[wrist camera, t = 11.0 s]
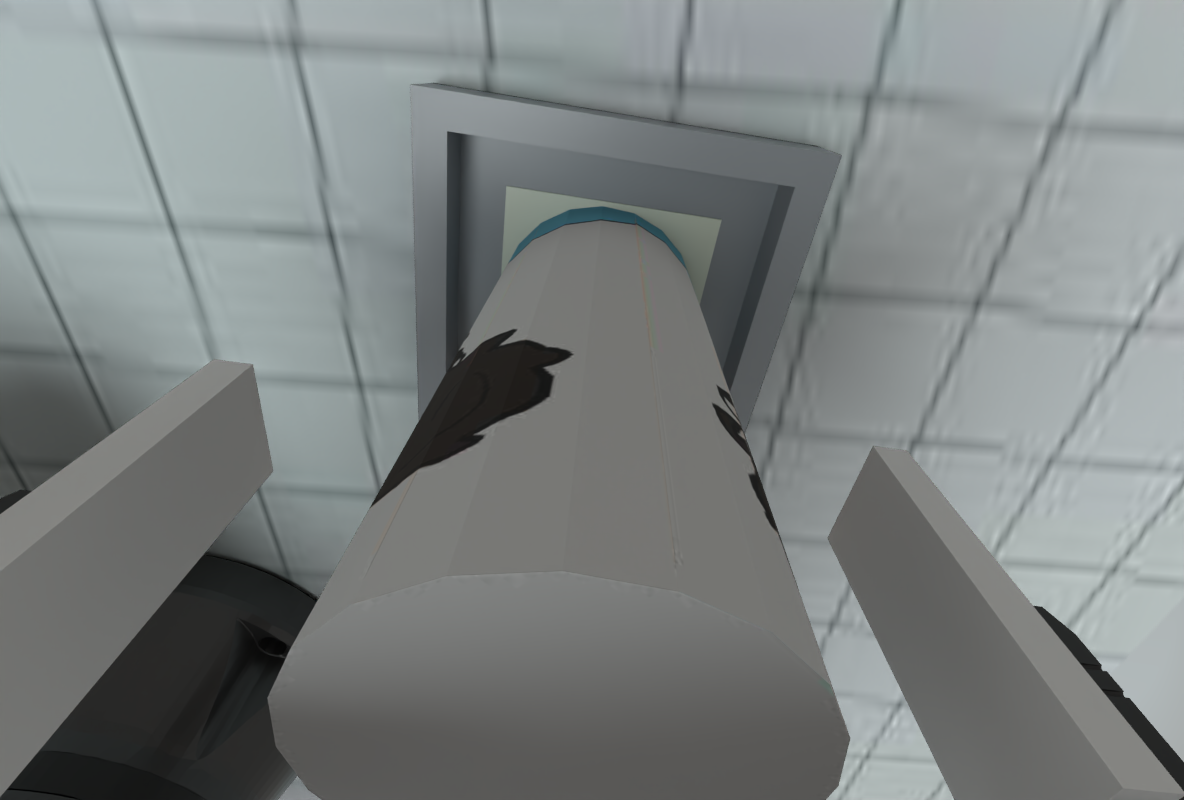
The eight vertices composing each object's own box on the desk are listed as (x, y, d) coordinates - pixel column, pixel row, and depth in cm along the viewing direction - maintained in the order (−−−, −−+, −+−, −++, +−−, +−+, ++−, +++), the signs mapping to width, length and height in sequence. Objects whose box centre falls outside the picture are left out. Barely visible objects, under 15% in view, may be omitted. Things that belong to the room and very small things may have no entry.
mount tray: (435, 412, 23) (419, 442, 21) (433, 82, 17) (410, 84, 15) (717, 451, 23) (726, 485, 21) (817, 146, 17) (842, 155, 15)
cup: (465, 316, 20) (185, 770, 7) (581, 159, 17) (468, 441, 4) (608, 417, 22) (596, 915, 9) (733, 293, 19) (977, 761, 6)
